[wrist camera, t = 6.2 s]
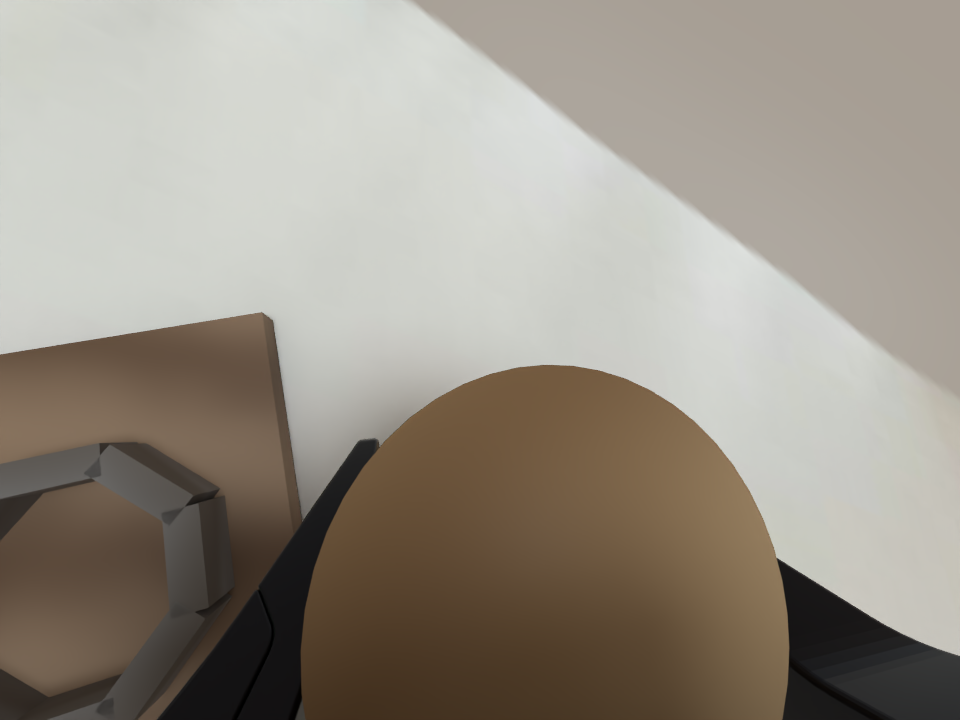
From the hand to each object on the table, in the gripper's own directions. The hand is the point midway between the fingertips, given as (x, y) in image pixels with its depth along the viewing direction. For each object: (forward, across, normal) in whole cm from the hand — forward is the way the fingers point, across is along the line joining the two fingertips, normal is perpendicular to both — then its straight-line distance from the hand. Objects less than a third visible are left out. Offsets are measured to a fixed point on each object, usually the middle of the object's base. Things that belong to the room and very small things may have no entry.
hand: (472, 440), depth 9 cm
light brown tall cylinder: (+4, 0, +6) cm, 7 cm away
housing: (+2, +12, +7) cm, 14 cm away
